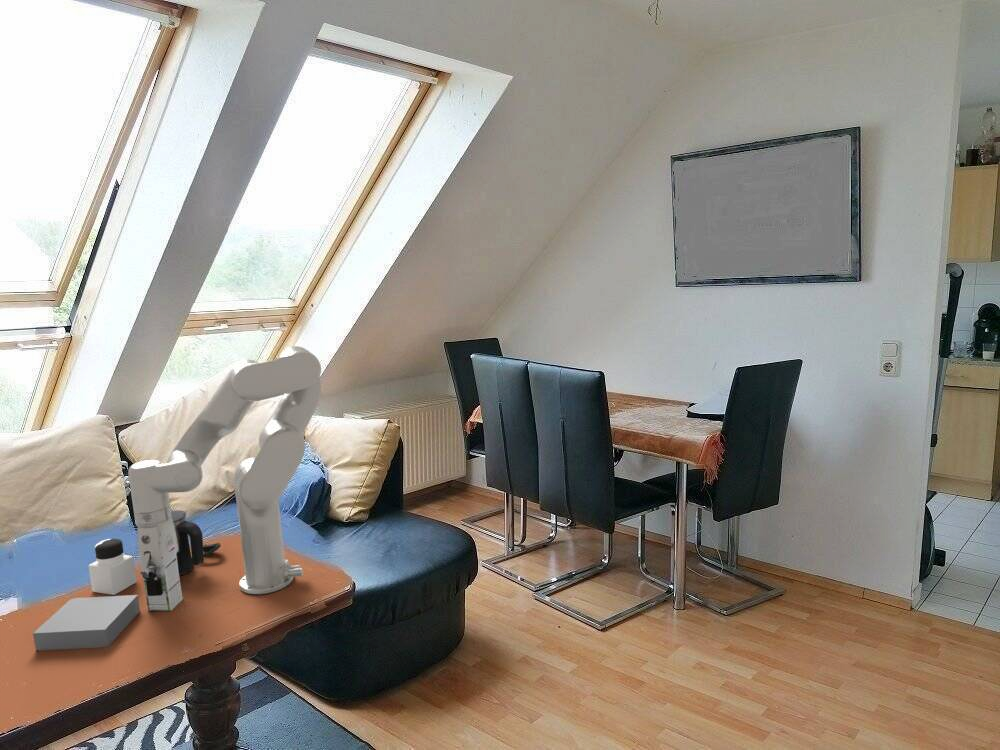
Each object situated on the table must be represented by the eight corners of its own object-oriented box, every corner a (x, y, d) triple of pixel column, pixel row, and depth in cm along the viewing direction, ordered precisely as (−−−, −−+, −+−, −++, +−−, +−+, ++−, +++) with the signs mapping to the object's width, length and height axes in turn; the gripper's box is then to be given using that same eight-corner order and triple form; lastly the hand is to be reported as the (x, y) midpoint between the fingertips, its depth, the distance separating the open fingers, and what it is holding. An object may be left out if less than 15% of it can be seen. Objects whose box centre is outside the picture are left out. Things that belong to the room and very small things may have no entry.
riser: (140, 610, 170) (137, 594, 169) (108, 646, 155) (105, 629, 154) (74, 614, 169) (71, 598, 169) (35, 650, 155) (32, 633, 154)
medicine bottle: (137, 582, 184) (130, 537, 182) (114, 595, 178) (107, 549, 175) (115, 579, 187) (108, 534, 184) (91, 592, 180) (84, 546, 178)
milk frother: (148, 579, 186) (140, 524, 183) (174, 552, 201) (168, 501, 198) (204, 577, 186) (197, 521, 183) (226, 550, 201) (220, 499, 198)
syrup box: (183, 599, 174) (176, 542, 172) (170, 612, 169) (162, 552, 166) (160, 599, 175) (152, 542, 172) (146, 611, 169) (138, 552, 166)
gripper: (153, 529, 159) (163, 604, 162) (184, 500, 176) (193, 569, 179) (117, 530, 159) (129, 606, 162) (152, 501, 176) (162, 570, 179)
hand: (162, 586), depth 171 cm, fingers open, 7 cm apart
